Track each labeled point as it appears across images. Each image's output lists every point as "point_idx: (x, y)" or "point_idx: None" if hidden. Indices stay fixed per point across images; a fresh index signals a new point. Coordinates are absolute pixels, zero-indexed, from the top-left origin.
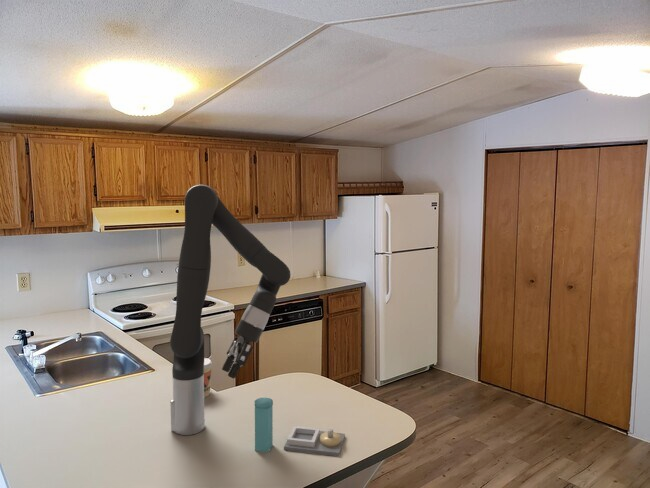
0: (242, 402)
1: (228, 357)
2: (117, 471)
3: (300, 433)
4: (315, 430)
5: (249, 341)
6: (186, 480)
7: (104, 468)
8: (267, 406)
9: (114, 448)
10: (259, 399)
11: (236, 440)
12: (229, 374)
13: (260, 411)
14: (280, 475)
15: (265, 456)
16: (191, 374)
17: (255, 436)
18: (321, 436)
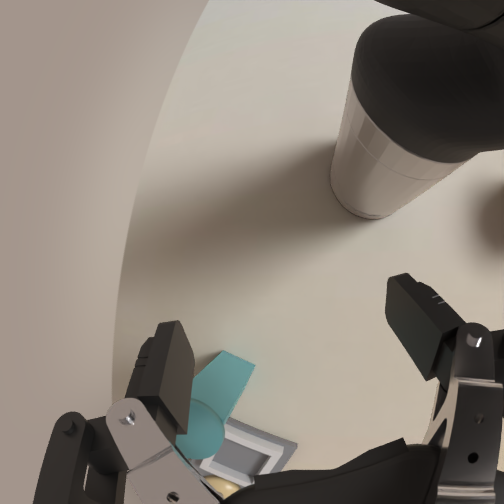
0: (481, 321)
1: (453, 341)
2: (202, 74)
3: (266, 455)
4: (252, 483)
5: None
6: (140, 198)
7: (218, 55)
8: None
9: (287, 50)
10: (204, 424)
11: (282, 308)
12: (158, 332)
13: None
14: (129, 378)
15: (194, 368)
16: (363, 85)
17: (211, 362)
18: (221, 484)
